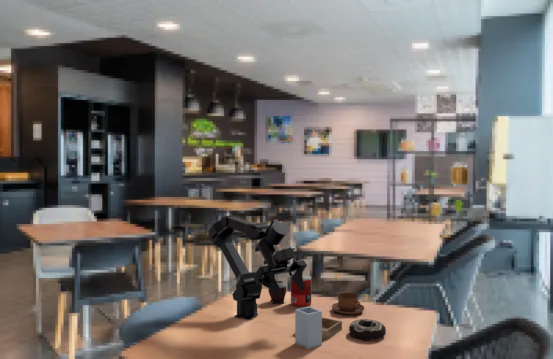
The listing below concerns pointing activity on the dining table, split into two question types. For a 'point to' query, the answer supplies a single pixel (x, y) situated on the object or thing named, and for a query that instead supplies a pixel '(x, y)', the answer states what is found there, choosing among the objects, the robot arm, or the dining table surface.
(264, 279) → the robot arm
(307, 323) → the tall grey bin
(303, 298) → the canned food
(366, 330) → the donut
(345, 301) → the cup and saucer
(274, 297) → the mate gourd
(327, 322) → the shallow brown tray
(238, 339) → the dining table surface
